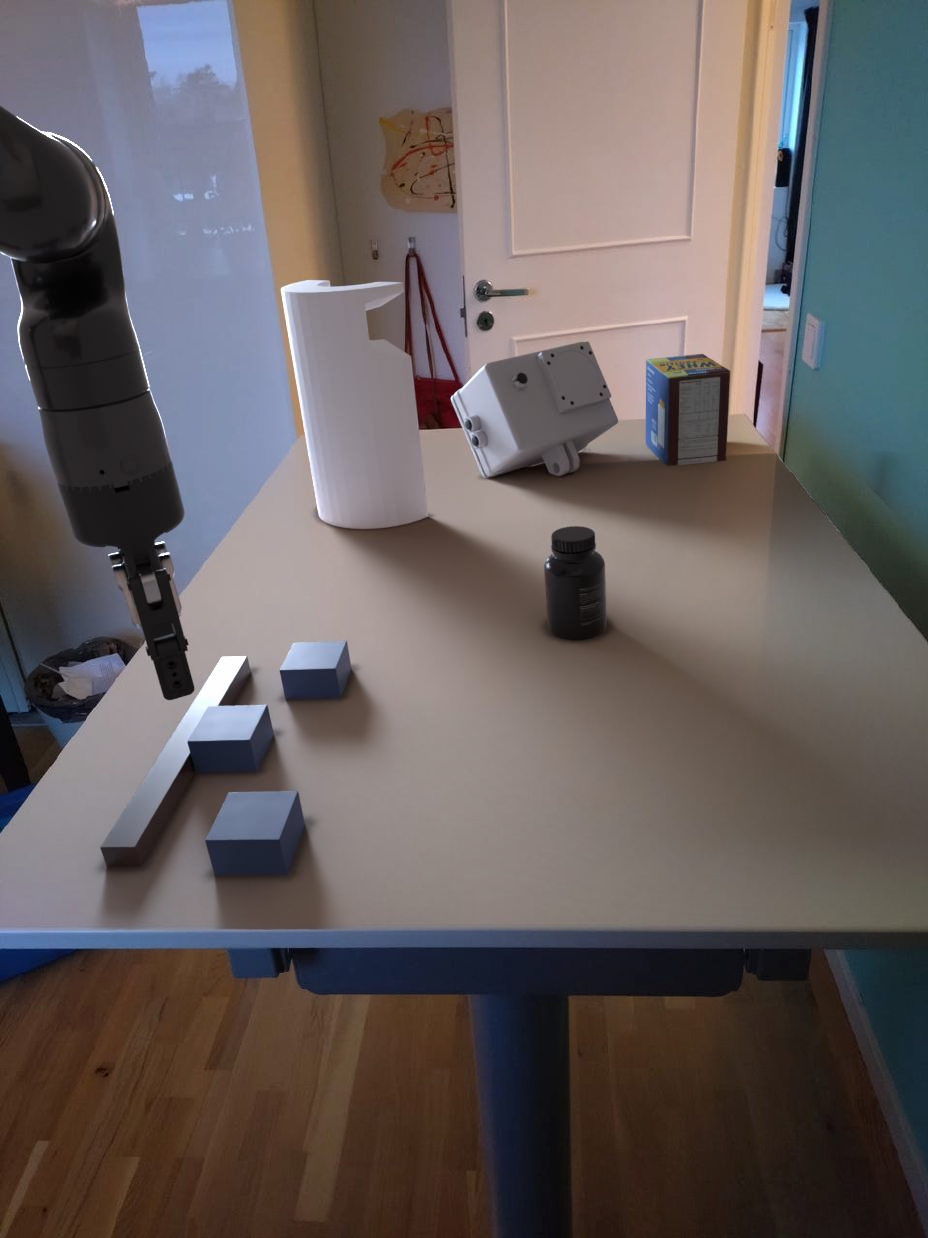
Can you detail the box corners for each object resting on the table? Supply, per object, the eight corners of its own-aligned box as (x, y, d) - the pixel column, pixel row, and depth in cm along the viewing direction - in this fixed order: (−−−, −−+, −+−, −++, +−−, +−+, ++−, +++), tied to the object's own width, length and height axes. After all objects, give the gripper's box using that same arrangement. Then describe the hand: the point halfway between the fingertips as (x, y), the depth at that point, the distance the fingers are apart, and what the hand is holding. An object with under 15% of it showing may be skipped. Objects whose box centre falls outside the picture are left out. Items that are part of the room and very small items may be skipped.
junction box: (527, 478, 140) (474, 349, 141) (484, 508, 154) (436, 390, 154) (638, 443, 152) (589, 324, 152) (590, 474, 165) (544, 364, 166)
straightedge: (107, 871, 73) (99, 847, 72) (226, 676, 101) (221, 656, 100) (142, 871, 73) (135, 847, 72) (251, 675, 101) (247, 655, 99)
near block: (215, 879, 72) (204, 840, 70) (238, 829, 77) (228, 792, 75) (288, 878, 71) (279, 839, 69) (306, 828, 76) (298, 790, 74)
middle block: (196, 776, 84) (186, 741, 82) (216, 739, 89) (208, 706, 88) (258, 775, 84) (249, 740, 82) (275, 738, 89) (267, 704, 87)
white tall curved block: (344, 495, 154) (432, 517, 141) (292, 516, 146) (379, 541, 133) (311, 279, 138) (407, 281, 125) (251, 290, 131) (346, 294, 117)
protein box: (700, 438, 166) (703, 352, 159) (726, 462, 152) (731, 370, 145) (644, 443, 166) (644, 358, 159) (665, 469, 152) (667, 376, 145)
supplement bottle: (605, 615, 106) (603, 520, 101) (608, 643, 100) (607, 544, 95) (547, 617, 107) (542, 523, 102) (546, 645, 101) (542, 546, 96)
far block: (285, 702, 95) (279, 670, 93) (299, 673, 100) (293, 642, 98) (341, 701, 94) (335, 668, 92) (352, 672, 99) (347, 640, 98)
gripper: (51, 451, 65) (111, 645, 73) (59, 505, 53) (130, 730, 61) (156, 431, 68) (203, 620, 75) (186, 478, 56) (239, 698, 63)
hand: (171, 669), depth 68 cm, fingers open, 8 cm apart
